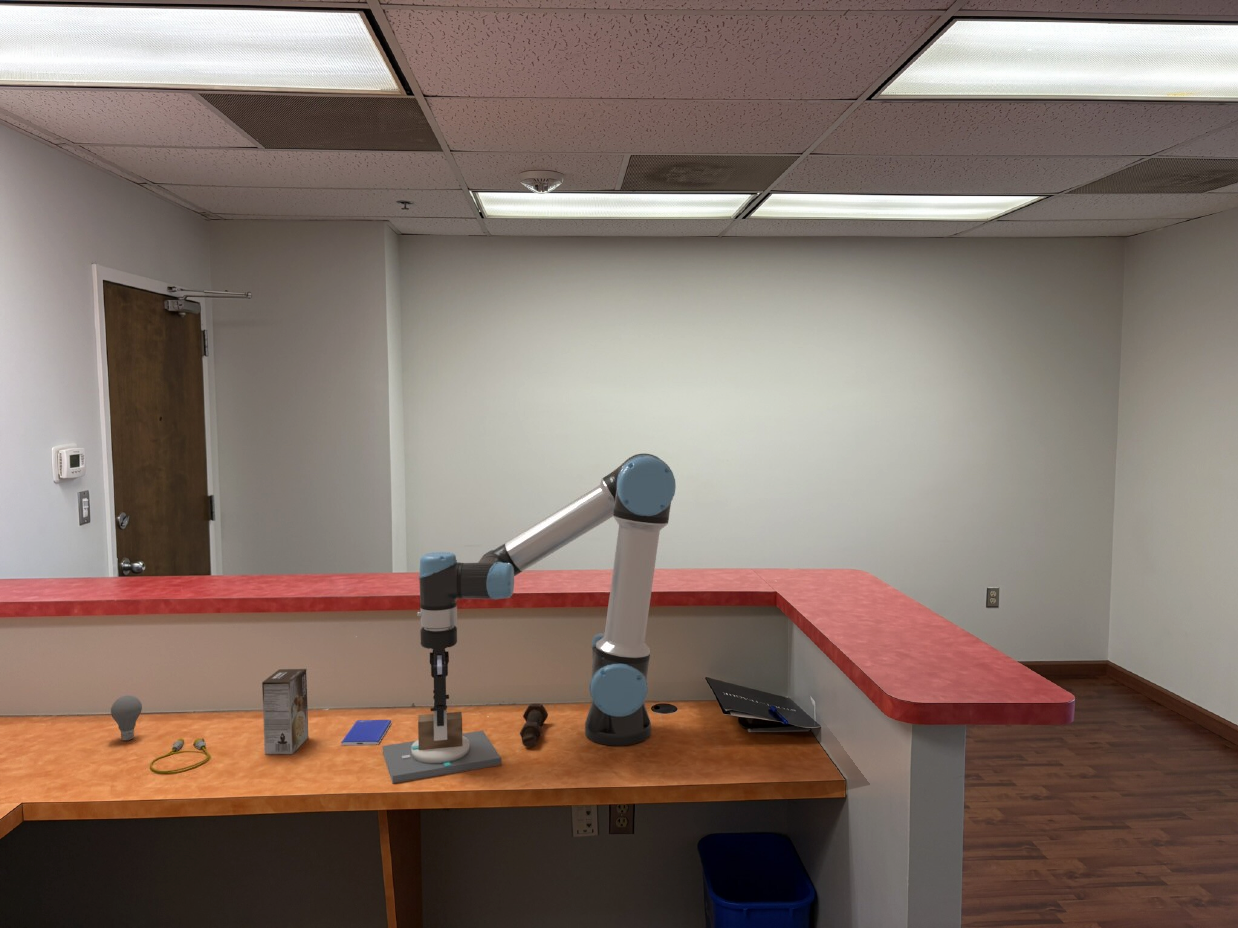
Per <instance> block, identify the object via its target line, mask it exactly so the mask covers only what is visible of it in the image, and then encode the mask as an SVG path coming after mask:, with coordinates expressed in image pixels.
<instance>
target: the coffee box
mask: <svg viewBox="0 0 1238 928" xmlns="http://www.w3.org/2000/svg"><path fill="white" fill-rule="evenodd" d="M307 679H308V678H307V668H287V669H286V668H285V669H283V668H282V669H278V670H277V671H275V672H274V673H272V674H271V675H270V676H269V677H267V678H266V679H265V680H263V681H262V682H261V684H262V685H261V687H262V713H263V714H262V715H263V716H262V717H263V738H264V739H263V741H264V755H293V754H294V753H296V751H297V750H298V749H299V748H300V747H301V746H302V745H303V743H305V741H307V740H308V739H309V716H308V715H309V710H308V708H309V707H308V688H307V687H308V685H307V684H308V683H307V682H308V681H307Z"/></svg>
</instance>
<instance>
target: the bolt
mask: <svg viewBox="0 0 1238 928" xmlns="http://www.w3.org/2000/svg"><path fill="white" fill-rule="evenodd" d="M522 717H523V719H524V720H525V723H524V725H523V726H522V728H521V730H520V732H519V735H520V737H521V741H522V742H521V743H522V745H523V746H524V747H526V748H533V747H535V745H536V744H537V743H538V742H539V740H540V739H541V737H542V735H543V730H542V728H541V727H542V726H543V725H544V723H545V722H546V720H547V719H548V717H549V713H548V711H547V710H546V708H545V706H544V705H543V704H542V703H529V704H528V705H527V707H526V709H525V711H524V713H523V715H522Z"/></svg>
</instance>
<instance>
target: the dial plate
mask: <svg viewBox="0 0 1238 928" xmlns="http://www.w3.org/2000/svg"><path fill="white" fill-rule="evenodd" d="M462 736H464V737H466V738H467V739H468V740H469V752H468V753H467V754H466V755H465V756H464V757H462V758H460V759H457V760H454V761H451V762H445V763H424V762H420V761H417V760H415V759H414V758H413V757H412V750H411V747H412V744H413V743H414V742H415V741H416V740H412V741H406V742H405V741H404V742H400V743H393V744H387V745H382V755H383V758H384V761H385V764H386V767H387V770H388V774H389V777H390V779H391V783H392V784H397V783H405V782H409V781H416V780H420V779H421V780H422V779H427V778H433V777H437V776H438V777H439V776H444V775H449V774H455V773H460V772H466V771H473V770H479V769H484V768H491V767H497V766H500V765H502V757H501V755H500V754H499V752H498V751H497V750H496V748H495V746H494V744H493V743H492V742H491V740H490V739H489V737H488V736H487V735H486V733H485V731H484V730H478V731H471V732H470V731H469V732H464V733H463V732H462Z"/></svg>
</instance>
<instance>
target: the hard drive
mask: <svg viewBox="0 0 1238 928" xmlns="http://www.w3.org/2000/svg"><path fill="white" fill-rule="evenodd" d="M391 725H392V719H359V720H356V721H355V722H354V723H353V725H352V726H351V728H350V729H349V731H348V732H347V733H346V735H345V736H344V738H343V739H342V740H341V742H340V746H341V745H346V746H374V745H375V746H379V745H380V743H381V741H382V740H383V738H384V737H385V735H386V733H387V732H388V730H389V728H390V727H389V726H391ZM386 731H387V732H386ZM383 736H384V737H383ZM381 739H382V740H381ZM379 742H380V743H379ZM376 744H377V745H376ZM378 744H379V745H378Z"/></svg>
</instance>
